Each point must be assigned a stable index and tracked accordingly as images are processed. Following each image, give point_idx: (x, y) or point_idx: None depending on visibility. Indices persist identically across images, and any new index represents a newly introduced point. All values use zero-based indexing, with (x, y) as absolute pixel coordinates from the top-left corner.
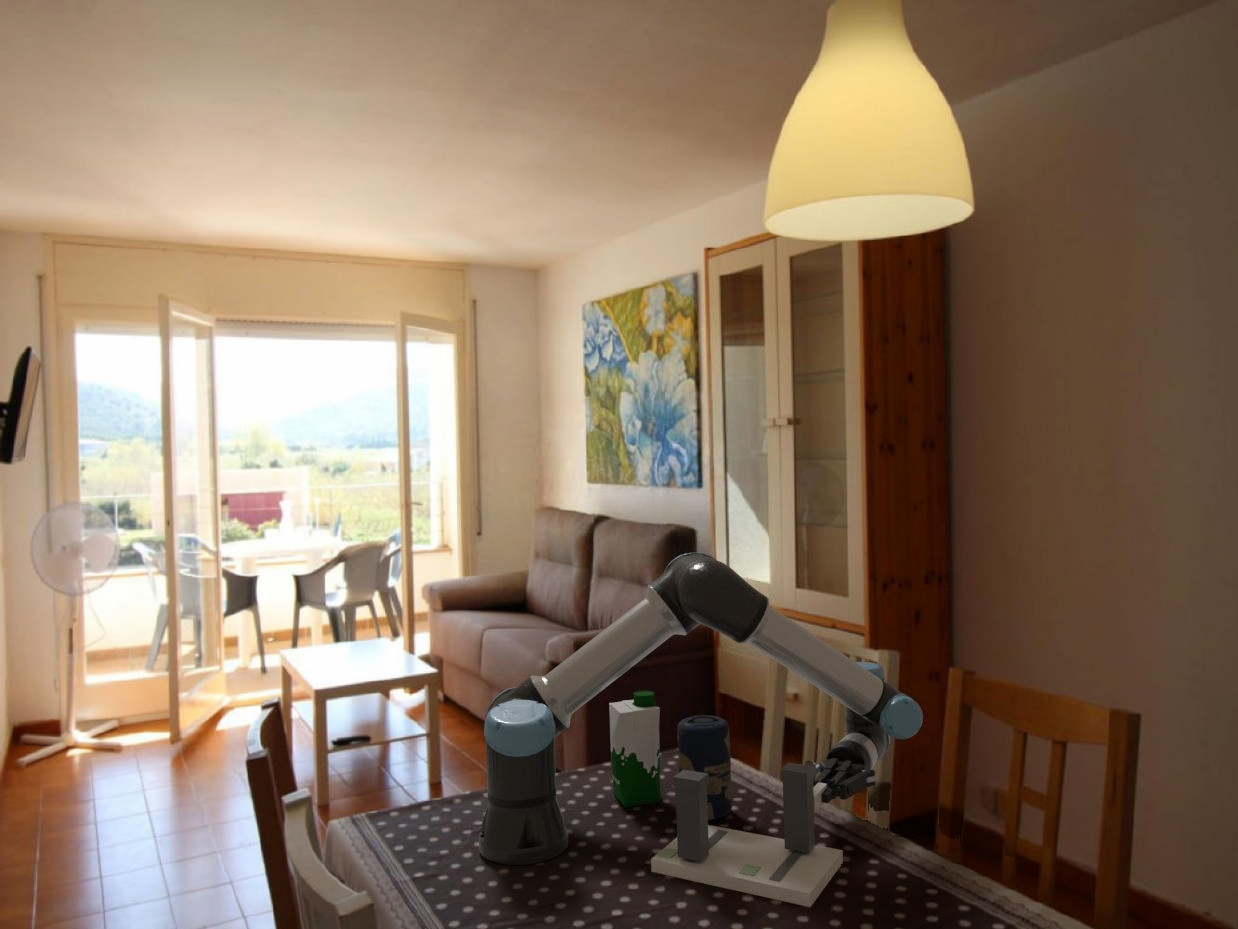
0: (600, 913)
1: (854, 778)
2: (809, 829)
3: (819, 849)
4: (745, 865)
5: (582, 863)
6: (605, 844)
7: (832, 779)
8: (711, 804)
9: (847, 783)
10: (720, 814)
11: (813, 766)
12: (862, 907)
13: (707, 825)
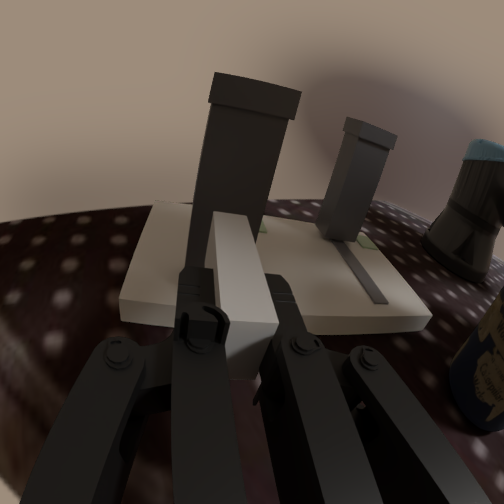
0: (322, 203)
1: (47, 494)
2: (190, 218)
3: (172, 290)
4: (265, 228)
5: (407, 248)
6: (436, 276)
7: (225, 420)
8: (465, 343)
9: (87, 376)
10: (451, 374)
11: (217, 72)
12: (89, 224)
13: (338, 196)
